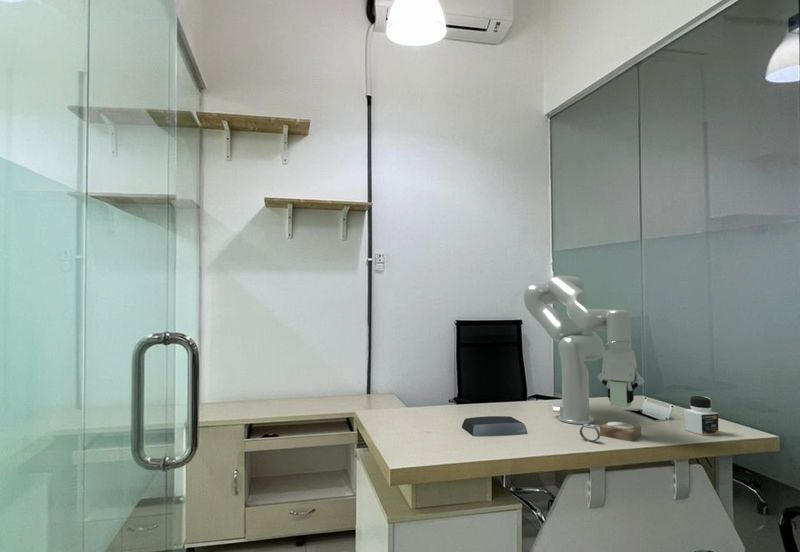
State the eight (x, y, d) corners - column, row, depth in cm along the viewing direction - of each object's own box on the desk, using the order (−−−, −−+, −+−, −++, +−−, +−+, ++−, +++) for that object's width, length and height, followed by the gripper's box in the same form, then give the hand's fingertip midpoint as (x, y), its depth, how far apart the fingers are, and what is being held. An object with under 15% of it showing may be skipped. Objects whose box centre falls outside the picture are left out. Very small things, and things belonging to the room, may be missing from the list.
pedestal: (600, 435, 157) (599, 425, 158) (610, 429, 165) (610, 419, 165) (632, 441, 151) (632, 430, 151) (641, 435, 158) (641, 424, 158)
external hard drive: (529, 435, 158) (528, 423, 158) (473, 438, 154) (473, 425, 154) (512, 426, 171) (512, 414, 171) (460, 428, 167) (460, 416, 167)
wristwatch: (601, 442, 149) (601, 426, 150) (597, 444, 147) (597, 427, 148) (582, 438, 154) (582, 422, 154) (578, 439, 152) (578, 424, 152)
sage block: (610, 405, 158) (609, 381, 158) (615, 403, 162) (614, 379, 162) (626, 407, 154) (625, 382, 155) (631, 405, 158) (630, 381, 159)
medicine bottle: (702, 435, 158) (701, 399, 159) (684, 430, 165) (683, 395, 166) (719, 434, 160) (718, 398, 161) (700, 428, 167) (699, 394, 168)
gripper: (589, 345, 162) (590, 399, 161) (643, 348, 151) (645, 406, 150) (597, 344, 168) (598, 397, 167) (649, 347, 157) (651, 403, 155)
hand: (620, 400), depth 158 cm, fingers closed on sage block, 5 cm apart
